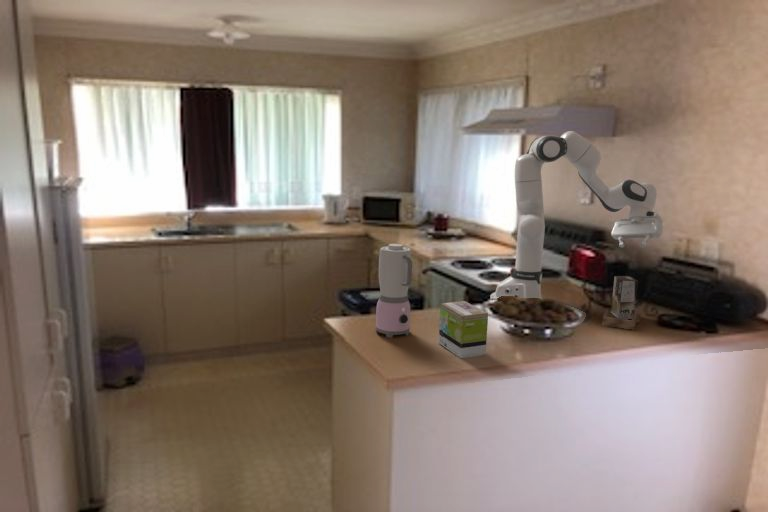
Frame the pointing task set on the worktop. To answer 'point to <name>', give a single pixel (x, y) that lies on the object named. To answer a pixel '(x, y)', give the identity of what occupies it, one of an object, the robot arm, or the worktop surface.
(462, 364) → the worktop surface
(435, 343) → the worktop surface
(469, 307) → the tea box
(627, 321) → the wooden tray
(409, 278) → the blender
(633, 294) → the coffee box
